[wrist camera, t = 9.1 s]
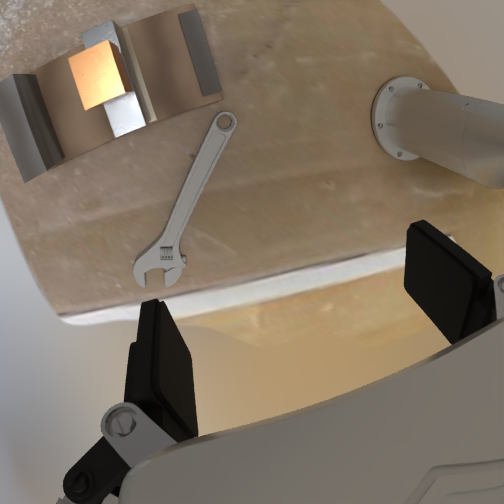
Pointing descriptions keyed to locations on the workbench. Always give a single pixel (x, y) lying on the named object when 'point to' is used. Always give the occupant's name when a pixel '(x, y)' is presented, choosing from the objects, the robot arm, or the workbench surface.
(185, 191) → the adjustable wrench
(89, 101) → the sliding jaw
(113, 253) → the workbench surface
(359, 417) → the robot arm
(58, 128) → the bench vise
